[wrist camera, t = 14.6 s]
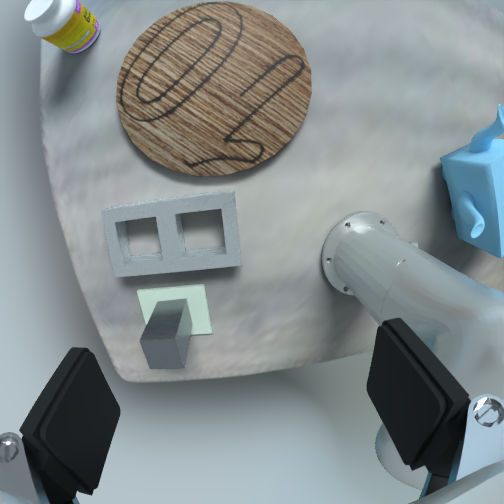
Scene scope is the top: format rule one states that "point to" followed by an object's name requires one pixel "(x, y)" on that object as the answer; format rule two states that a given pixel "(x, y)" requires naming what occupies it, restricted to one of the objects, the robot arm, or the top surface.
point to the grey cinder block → (171, 235)
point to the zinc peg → (167, 335)
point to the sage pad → (191, 292)
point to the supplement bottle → (63, 23)
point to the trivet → (214, 88)
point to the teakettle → (479, 188)
